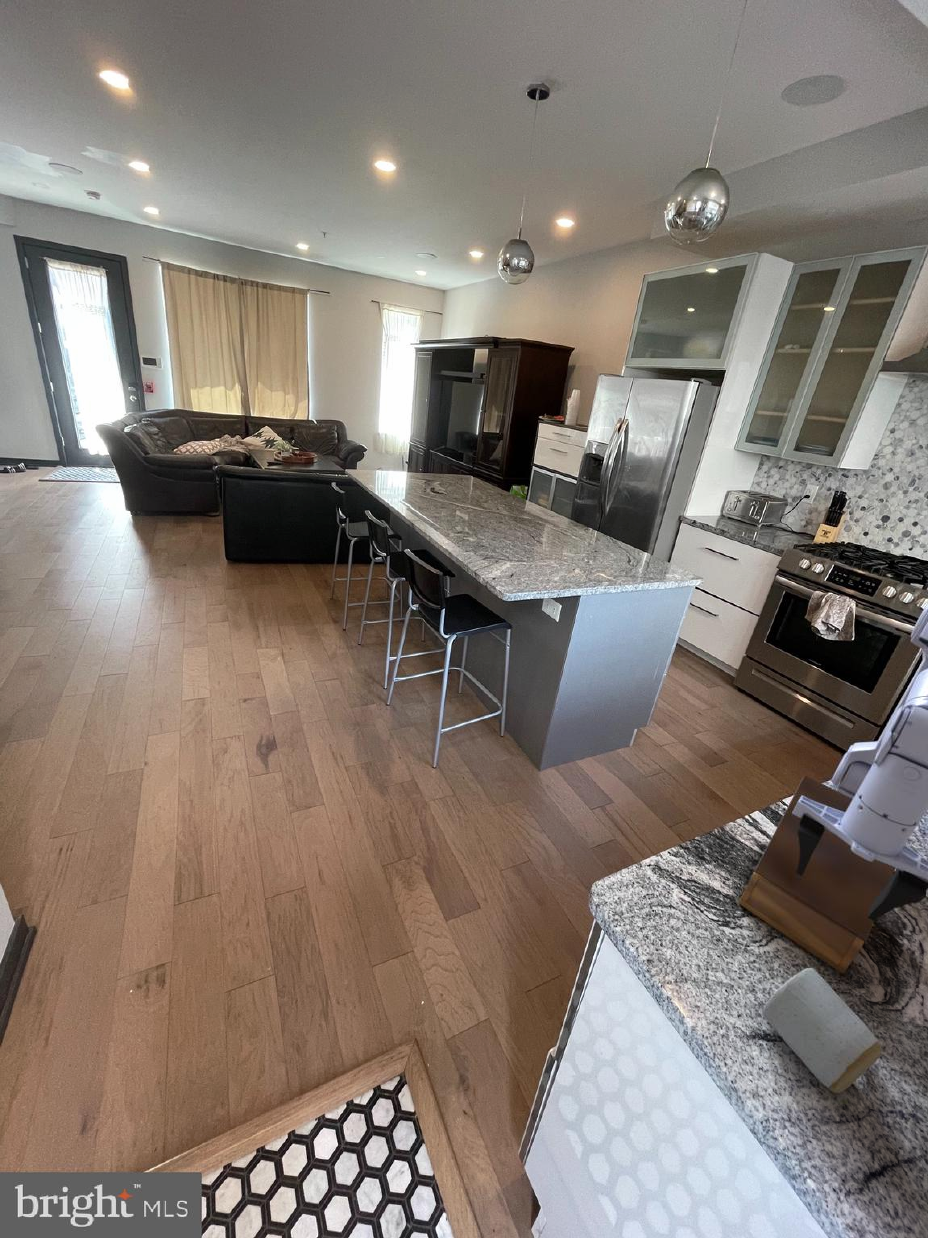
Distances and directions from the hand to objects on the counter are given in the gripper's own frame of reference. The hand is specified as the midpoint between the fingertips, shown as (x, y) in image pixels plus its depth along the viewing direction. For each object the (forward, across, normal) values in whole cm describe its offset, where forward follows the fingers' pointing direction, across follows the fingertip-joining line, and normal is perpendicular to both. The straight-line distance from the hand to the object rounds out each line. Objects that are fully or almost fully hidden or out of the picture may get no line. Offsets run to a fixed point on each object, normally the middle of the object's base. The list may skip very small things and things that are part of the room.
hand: (835, 891), depth 62 cm
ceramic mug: (+10, +4, -12) cm, 16 cm away
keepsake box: (+10, -2, +8) cm, 13 cm away
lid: (0, -2, +7) cm, 7 cm away
